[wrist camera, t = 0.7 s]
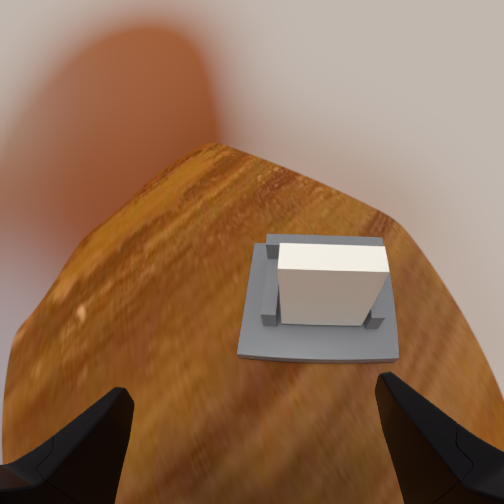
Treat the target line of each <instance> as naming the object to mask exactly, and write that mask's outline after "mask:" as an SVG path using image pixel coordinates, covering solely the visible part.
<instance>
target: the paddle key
mask: <svg viewBox="0 0 504 504" xmlns="http://www.w3.org/2000/svg"><path fill="white" fill-rule="evenodd" d="M388 274H389V267H388V261H387V256H386V250H385V246H358V245H329V244H297V243H280V248H279V259H278V280H279V294H280V308H281V323H282V324H303V325H340V326H361V325H362V324H363V322H364V320H365V318H366V316H367V315H368V313H369V311H370V309H371V307H372V305H373V304H374V302H375V300H376V298H377V296H378V294H379V292H380V290H381V288H382V286H383V284H384V282H385V280H386V278H387V276H388Z"/></svg>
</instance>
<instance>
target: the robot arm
mask: <svg viewBox="0 0 504 504" xmlns="http://www.w3.org/2000/svg"><path fill="white" fill-rule="evenodd" d="M375 396H376V401H377V405H378V410H379V415H380V420H381V425H382V430H383V433H384V436H385V439H386V442H387V446H388V449H389V452H390V455H391V458H392V462H393V465H394V468H395V472H396V475H397V478H398V482H399V485H400V489H401V493H402V496H403V500H404V504H504V452H503V451H501V450H499V449H497V448H496V447H494V446H492V445H490V444H488V443H487V442H485V441H483V440H481V439H480V438H478V437H477V436H475V435H474V434H472V433H471V432H469V431H468V430H466V429H465V428H464V427H462V426H461V425H460V424H457V422H456V421H454V420H453V419H452V418H450V417H449V416H448V415H447V414H445V413H444V412H443V411H441V410H440V409H439V408H437V407H436V406H435V405H433V404H432V403H431V402H430V401H428V400H427V399H426V398H424V397H423V396H422V395H420V394H419V393H418V392H417V391H415V390H414V389H413V388H411V387H410V386H409V385H407V384H406V383H405V382H404V381H402V380H401V379H400V378H398V377H397V376H396V375H395V374H393V373H392V372H385V373H381V374H379V376H378V379H377V383H376V387H375ZM133 412H134V401H133V400H132V398H131V396H130V395H129V393H128V391H127V390H126V389H125V388H122V387H115V388H113V389H112V390H111V391H109V392H108V393H107V394H106V395H104V396H103V397H102V398H101V399H99V400H98V401H97V402H96V403H94V404H93V405H92V406H91V407H89V408H88V409H87V410H86V411H84V412H83V413H82V414H80V415H79V416H78V417H77V418H75V419H74V420H73V421H72V422H70V423H69V424H68V425H66V426H65V427H64V428H63V429H61V430H60V431H59V432H57V433H56V434H55V435H54V436H52V437H51V438H50V439H48V440H47V441H45V442H44V443H43V444H41V445H40V446H38V447H37V448H35V449H34V450H32V451H31V452H29V453H27V454H26V455H24V456H22V457H21V458H19V459H17V460H16V461H14V462H12V463H9V464H5V465H0V504H114V503H115V499H116V494H117V489H118V485H119V480H120V476H121V471H122V467H123V463H124V459H125V455H126V451H127V447H128V443H129V438H130V432H131V425H132V419H133Z"/></svg>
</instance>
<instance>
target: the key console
mask: <svg viewBox="0 0 504 504" xmlns="http://www.w3.org/2000/svg"><path fill="white" fill-rule="evenodd" d="M280 243H297V244H329V245H358V246H383V241H382V238H377V237H353V236H325V235H291V234H267V239H266V243H255V245H254V251H253V257H252V264H251V270H250V276H249V282H248V289H247V295H246V301H245V307H244V313H243V320H242V326H241V332H240V338H239V344H238V350H237V355H238V357H239V358H246V359H257V360H270V361H285V362H305V363H381V362H395V361H396V360H397V359H399V348H398V335H397V324H396V314H395V306H394V298H393V291H392V284H391V277H390V271H389V274H388V276H387V278H386V280H385V282H384V284H383V286H382V288H381V290H380V292H379V294H378V296H377V298H376V300H375V302H374V304H373V305H372V307H371V309H370V311H369V313H368V315H367V316H366V318H365V320H364V322H363V324H362V325H361V326H340V325H303V324H282V323H281V308H280V294H279V280H278V259H279V248H280ZM385 250H386V249H385ZM386 256H387V254H386ZM387 261H388V259H387ZM388 267H389V265H388Z"/></svg>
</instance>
